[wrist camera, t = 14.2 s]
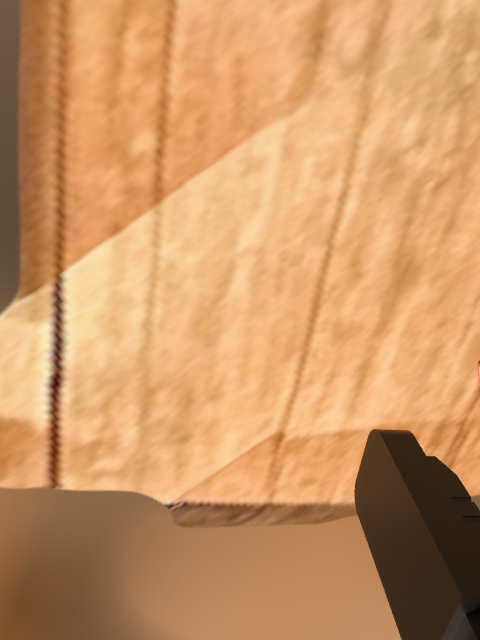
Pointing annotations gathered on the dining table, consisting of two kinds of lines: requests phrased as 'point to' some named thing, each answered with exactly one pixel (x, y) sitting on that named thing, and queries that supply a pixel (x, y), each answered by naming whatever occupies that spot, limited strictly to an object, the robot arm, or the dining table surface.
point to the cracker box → (479, 371)
